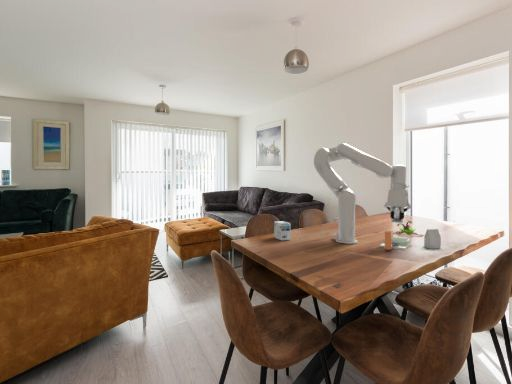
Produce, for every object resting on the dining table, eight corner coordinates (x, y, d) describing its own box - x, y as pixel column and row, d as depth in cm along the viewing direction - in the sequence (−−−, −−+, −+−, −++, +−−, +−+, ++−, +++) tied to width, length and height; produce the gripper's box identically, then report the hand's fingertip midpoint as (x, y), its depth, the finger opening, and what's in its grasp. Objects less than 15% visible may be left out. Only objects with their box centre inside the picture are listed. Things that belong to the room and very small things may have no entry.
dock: (380, 246, 145) (380, 240, 145) (387, 242, 157) (387, 236, 157) (404, 250, 138) (404, 243, 137) (410, 245, 149) (410, 239, 149)
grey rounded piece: (390, 221, 149) (390, 206, 149) (393, 221, 153) (393, 205, 153) (400, 222, 145) (401, 206, 145) (403, 222, 149) (404, 206, 149)
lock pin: (384, 248, 136) (384, 231, 135) (391, 244, 146) (391, 228, 146) (390, 249, 134) (391, 232, 133) (397, 245, 144) (397, 228, 144)
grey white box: (440, 248, 143) (440, 229, 142) (429, 248, 142) (429, 230, 141) (434, 246, 146) (435, 228, 146) (424, 247, 145) (424, 228, 145)
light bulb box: (290, 240, 164) (291, 222, 163) (281, 240, 161) (281, 223, 161) (282, 236, 174) (283, 220, 173) (273, 237, 171) (273, 221, 171)
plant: (431, 241, 162) (431, 223, 162) (398, 240, 164) (398, 222, 164) (414, 235, 182) (415, 219, 182) (385, 234, 184) (385, 218, 183)
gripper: (416, 187, 146) (415, 220, 147) (383, 186, 157) (383, 217, 157) (413, 187, 140) (412, 221, 141) (380, 186, 151) (379, 218, 152)
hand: (397, 218), depth 149 cm, fingers closed on grey rounded piece, 4 cm apart
